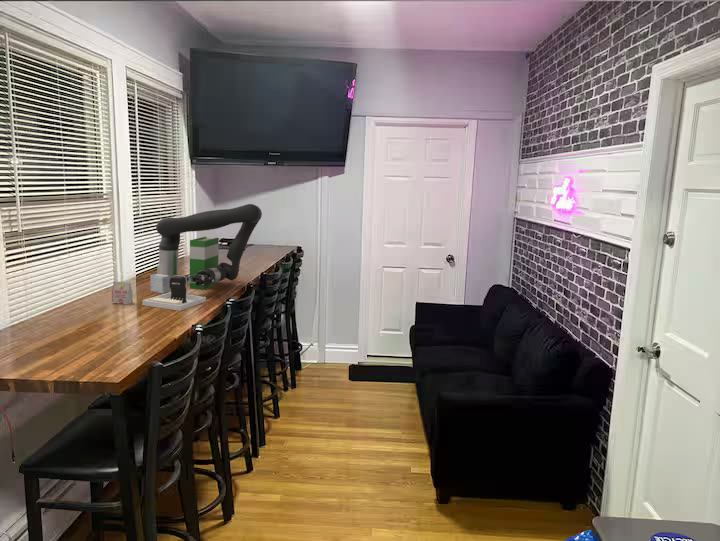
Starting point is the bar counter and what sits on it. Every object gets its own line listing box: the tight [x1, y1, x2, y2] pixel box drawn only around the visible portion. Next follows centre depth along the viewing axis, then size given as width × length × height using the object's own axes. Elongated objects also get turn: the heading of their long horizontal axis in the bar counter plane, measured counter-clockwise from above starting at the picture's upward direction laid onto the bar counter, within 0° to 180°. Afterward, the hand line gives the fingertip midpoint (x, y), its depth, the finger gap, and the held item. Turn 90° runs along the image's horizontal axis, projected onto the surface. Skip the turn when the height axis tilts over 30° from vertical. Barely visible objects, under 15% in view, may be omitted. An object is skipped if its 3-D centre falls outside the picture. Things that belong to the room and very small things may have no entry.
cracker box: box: [151, 298, 182, 305], centre depth 203 cm, size 12×4×2 cm, turn 74°
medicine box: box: [149, 273, 171, 294], centre depth 228 cm, size 8×4×9 cm, turn 65°
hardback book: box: [189, 236, 220, 291], centre depth 248 cm, size 18×7×24 cm, turn 174°
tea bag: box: [111, 281, 134, 305], centre depth 203 cm, size 4×7×10 cm, turn 87°
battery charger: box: [169, 275, 188, 303], centre depth 210 cm, size 7×4×11 cm, turn 81°
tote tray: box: [142, 291, 207, 312], centre depth 209 cm, size 18×18×3 cm
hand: (188, 282), depth 217 cm, fingers open, 8 cm apart
